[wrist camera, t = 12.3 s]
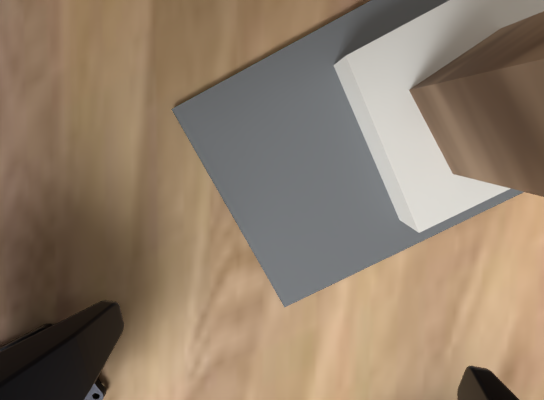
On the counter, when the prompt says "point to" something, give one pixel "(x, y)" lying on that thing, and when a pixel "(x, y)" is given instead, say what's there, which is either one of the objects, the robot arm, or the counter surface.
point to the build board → (343, 140)
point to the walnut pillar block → (492, 108)
